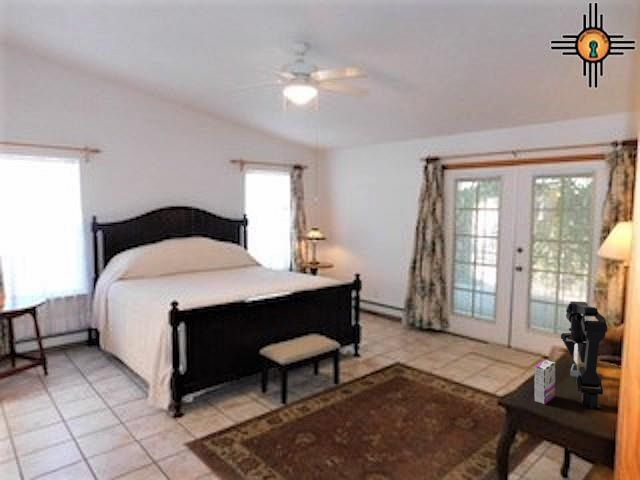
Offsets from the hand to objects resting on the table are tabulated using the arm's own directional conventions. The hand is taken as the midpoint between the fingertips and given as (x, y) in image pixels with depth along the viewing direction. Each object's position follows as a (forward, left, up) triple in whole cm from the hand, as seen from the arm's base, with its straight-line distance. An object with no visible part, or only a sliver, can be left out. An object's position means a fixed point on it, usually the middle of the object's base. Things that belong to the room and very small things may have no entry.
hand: (577, 359), depth 206 cm
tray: (+11, -10, -13) cm, 20 cm away
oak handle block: (+11, -10, -12) cm, 19 cm away
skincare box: (+26, -19, -13) cm, 35 cm away
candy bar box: (-13, +22, -13) cm, 29 cm away
